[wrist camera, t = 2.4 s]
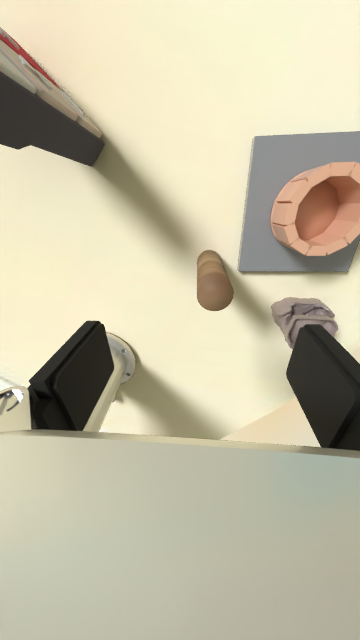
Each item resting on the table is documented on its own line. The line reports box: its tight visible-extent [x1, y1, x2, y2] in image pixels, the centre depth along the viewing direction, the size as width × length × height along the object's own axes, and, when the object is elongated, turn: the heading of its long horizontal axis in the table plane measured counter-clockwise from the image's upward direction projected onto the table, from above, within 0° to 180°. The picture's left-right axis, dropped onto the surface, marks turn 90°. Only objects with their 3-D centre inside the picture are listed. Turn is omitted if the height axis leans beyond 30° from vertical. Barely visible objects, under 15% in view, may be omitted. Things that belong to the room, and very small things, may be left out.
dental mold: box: [271, 297, 338, 349], centre depth 30 cm, size 8×7×5 cm
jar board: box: [237, 131, 360, 271], centre depth 22 cm, size 14×14×6 cm
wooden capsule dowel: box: [197, 250, 234, 311], centre depth 23 cm, size 3×3×12 cm
